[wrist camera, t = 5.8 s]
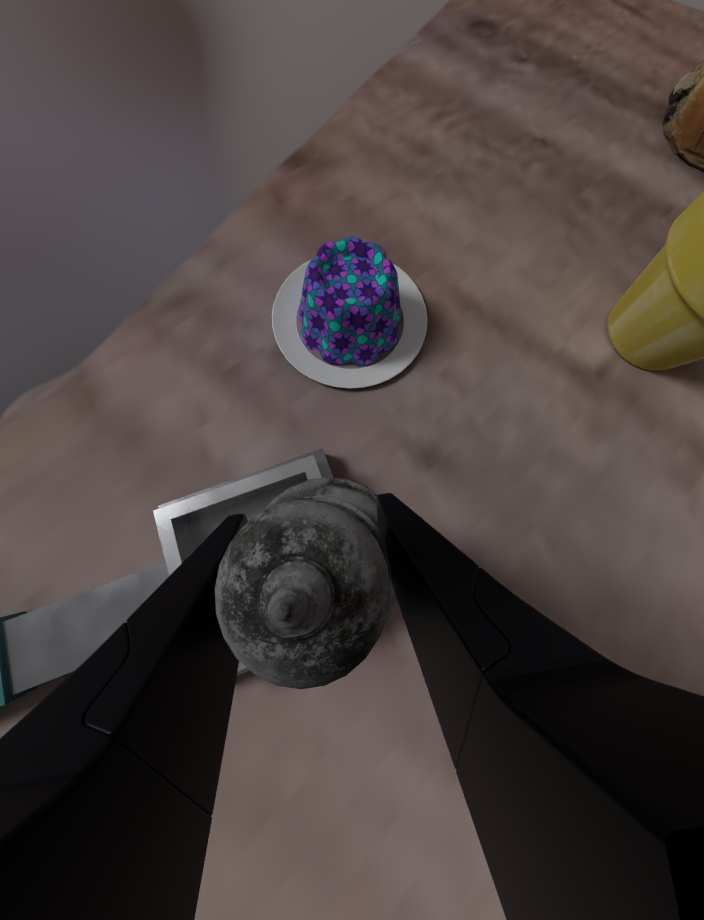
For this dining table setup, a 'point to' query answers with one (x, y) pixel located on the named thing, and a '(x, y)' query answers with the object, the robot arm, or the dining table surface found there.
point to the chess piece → (306, 584)
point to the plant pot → (666, 301)
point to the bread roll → (687, 118)
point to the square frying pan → (134, 579)
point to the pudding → (349, 315)
